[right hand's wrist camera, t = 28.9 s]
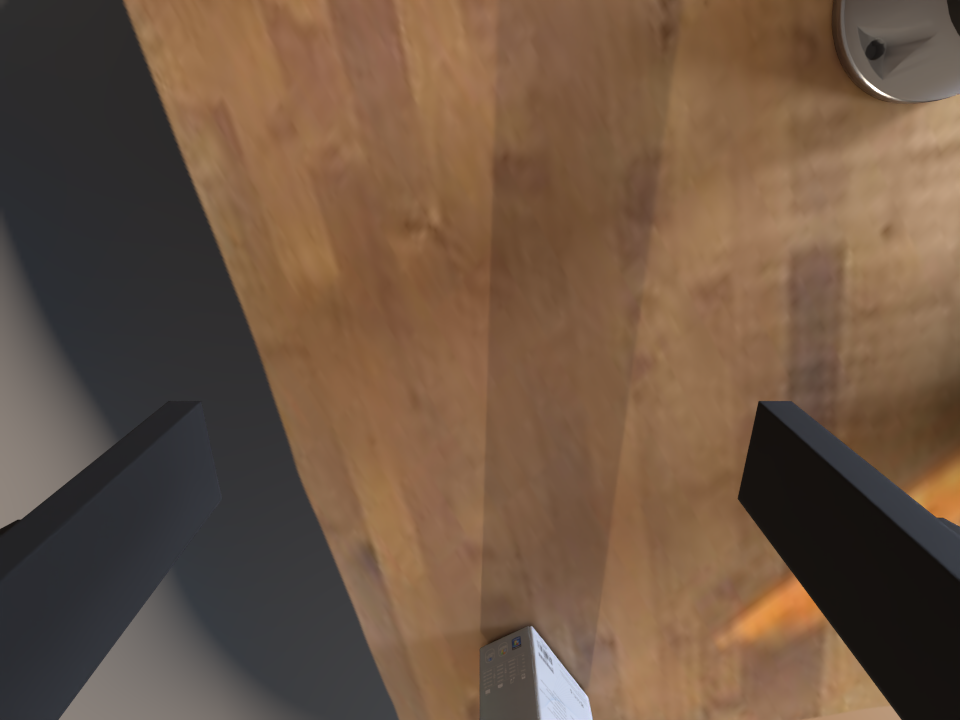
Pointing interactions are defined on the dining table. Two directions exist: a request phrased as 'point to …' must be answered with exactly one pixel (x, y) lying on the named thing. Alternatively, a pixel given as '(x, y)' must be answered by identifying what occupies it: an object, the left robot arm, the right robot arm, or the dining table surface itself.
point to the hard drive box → (527, 682)
